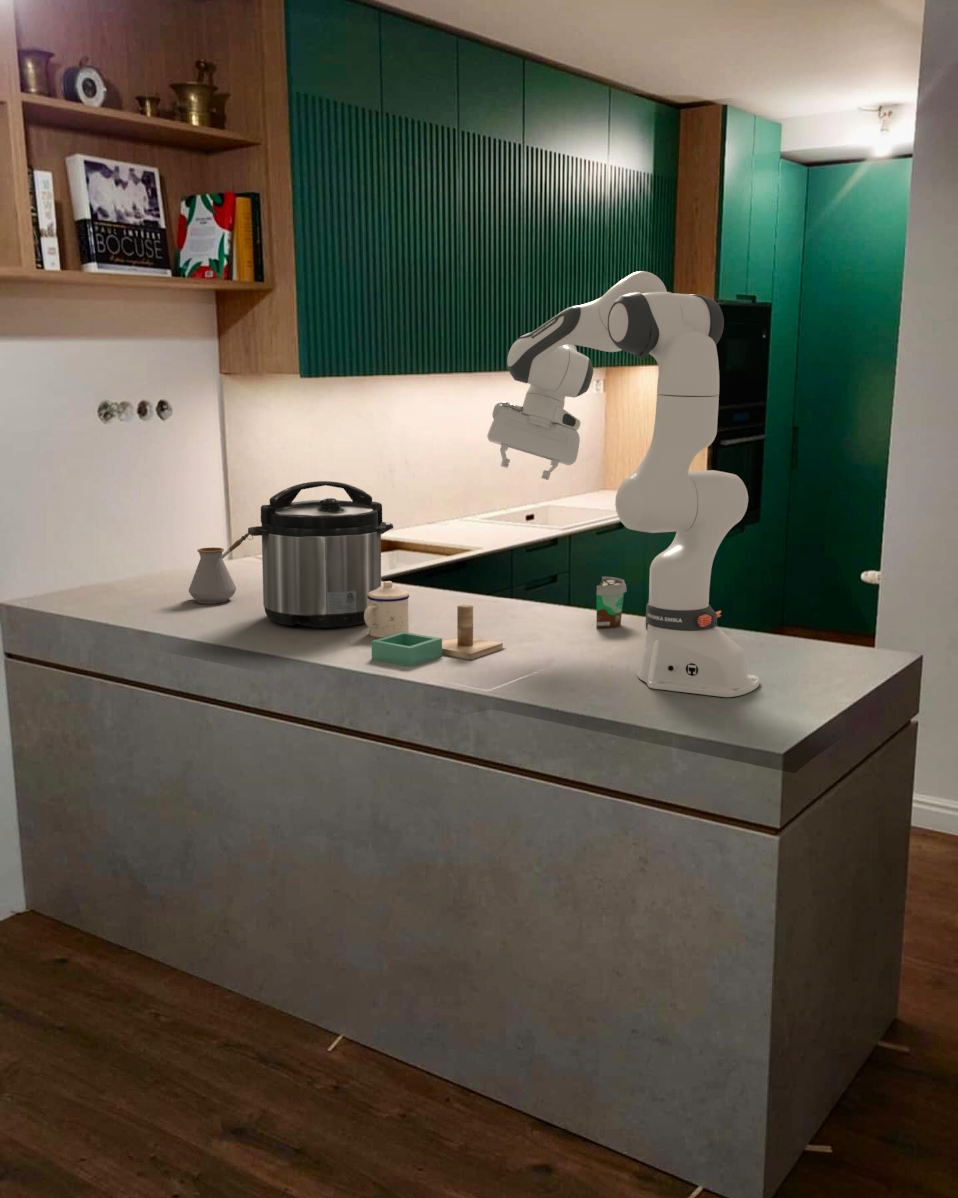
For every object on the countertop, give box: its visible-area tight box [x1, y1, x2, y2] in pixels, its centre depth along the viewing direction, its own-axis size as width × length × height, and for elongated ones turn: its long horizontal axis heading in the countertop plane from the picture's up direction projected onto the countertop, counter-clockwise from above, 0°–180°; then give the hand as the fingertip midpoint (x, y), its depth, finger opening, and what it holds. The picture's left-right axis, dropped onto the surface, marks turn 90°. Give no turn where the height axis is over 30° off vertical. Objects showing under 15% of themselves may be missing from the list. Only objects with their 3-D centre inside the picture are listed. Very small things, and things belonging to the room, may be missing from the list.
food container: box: [595, 576, 628, 630], centre depth 267 cm, size 12×6×10 cm, turn 168°
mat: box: [442, 647, 506, 662], centre depth 243 cm, size 12×12×1 cm
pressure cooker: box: [247, 480, 394, 629], centre depth 272 cm, size 30×28×32 cm
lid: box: [442, 604, 504, 661], centre depth 242 cm, size 11×11×9 cm
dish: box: [370, 632, 443, 667], centre depth 237 cm, size 10×10×4 cm
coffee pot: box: [188, 532, 254, 605], centre depth 297 cm, size 21×12×15 cm, turn 152°
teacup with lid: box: [364, 580, 410, 639], centre depth 257 cm, size 12×9×12 cm
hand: (524, 473), depth 261 cm, fingers open, 8 cm apart
